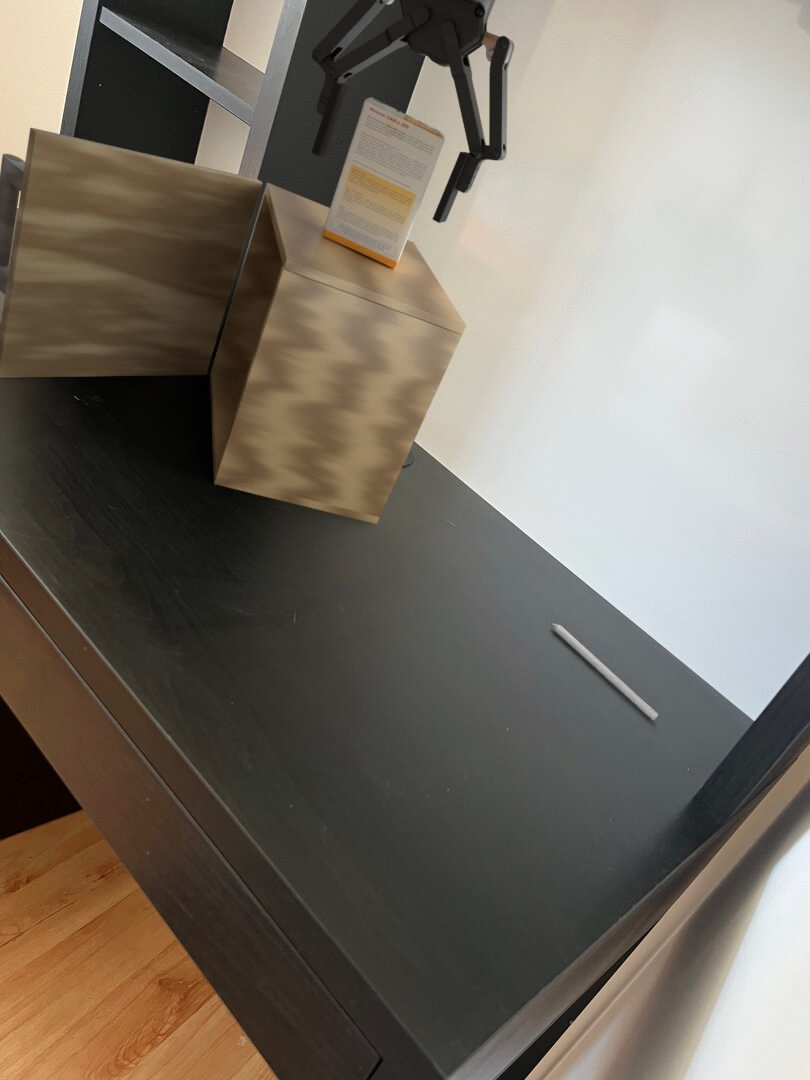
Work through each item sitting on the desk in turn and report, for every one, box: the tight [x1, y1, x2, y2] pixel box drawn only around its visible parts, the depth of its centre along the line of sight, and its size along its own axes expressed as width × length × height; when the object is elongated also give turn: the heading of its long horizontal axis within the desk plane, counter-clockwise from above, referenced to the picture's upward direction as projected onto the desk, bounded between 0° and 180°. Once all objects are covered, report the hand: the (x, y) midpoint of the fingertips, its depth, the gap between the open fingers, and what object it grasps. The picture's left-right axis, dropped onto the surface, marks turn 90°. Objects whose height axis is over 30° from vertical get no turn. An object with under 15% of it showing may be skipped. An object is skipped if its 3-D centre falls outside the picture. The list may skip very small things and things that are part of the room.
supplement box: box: [322, 96, 446, 269], centre depth 84 cm, size 8×5×13 cm, turn 88°
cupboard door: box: [0, 127, 263, 379], centre depth 90 cm, size 8×26×24 cm, turn 141°
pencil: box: [551, 622, 659, 721], centre depth 89 cm, size 1×1×15 cm
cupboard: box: [209, 182, 467, 525], centre depth 94 cm, size 18×26×24 cm
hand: (379, 187), depth 85 cm, fingers open, 13 cm apart
